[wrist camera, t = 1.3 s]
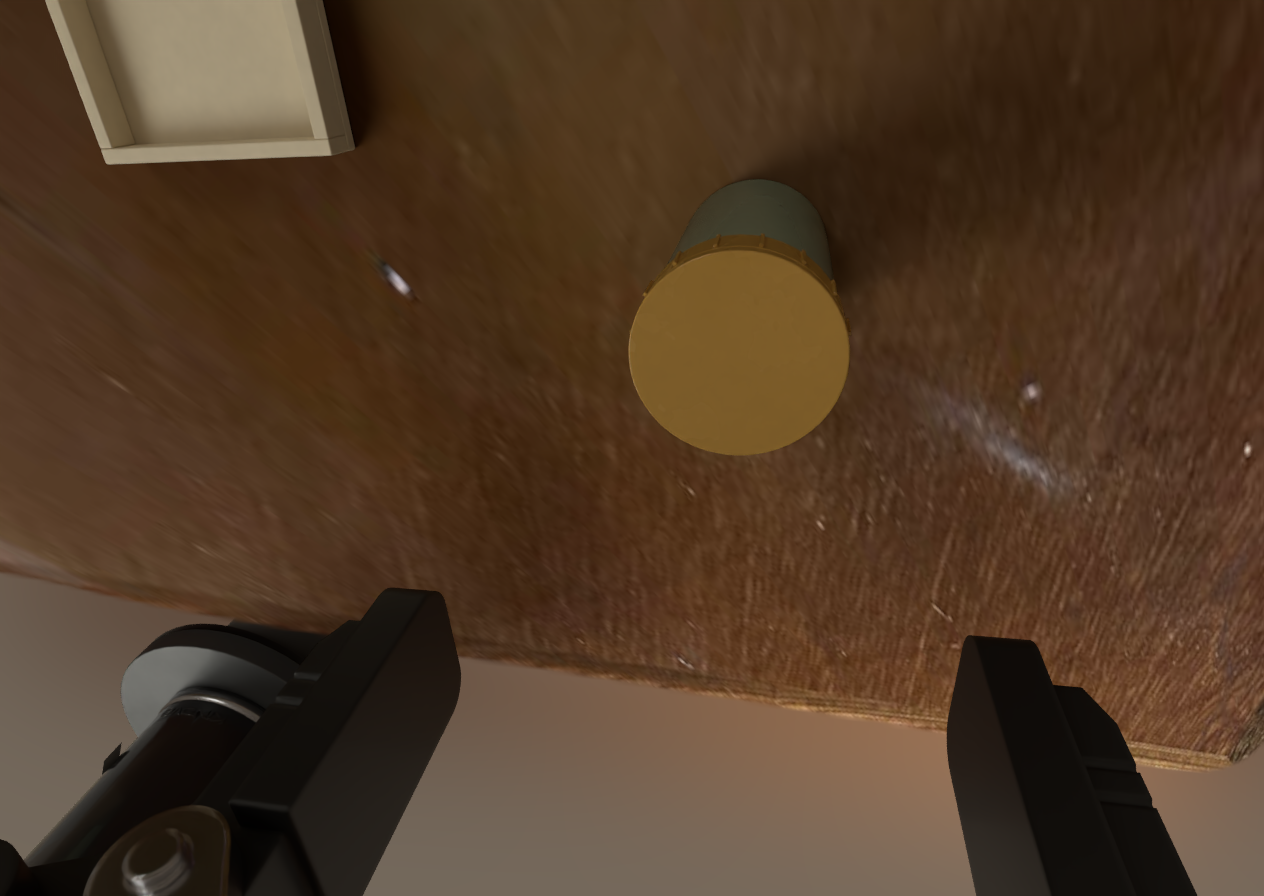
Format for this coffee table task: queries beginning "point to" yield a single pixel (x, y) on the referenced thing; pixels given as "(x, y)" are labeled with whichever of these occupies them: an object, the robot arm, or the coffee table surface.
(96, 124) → the tray
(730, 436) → the jar lid
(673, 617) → the coffee table surface
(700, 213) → the jar
